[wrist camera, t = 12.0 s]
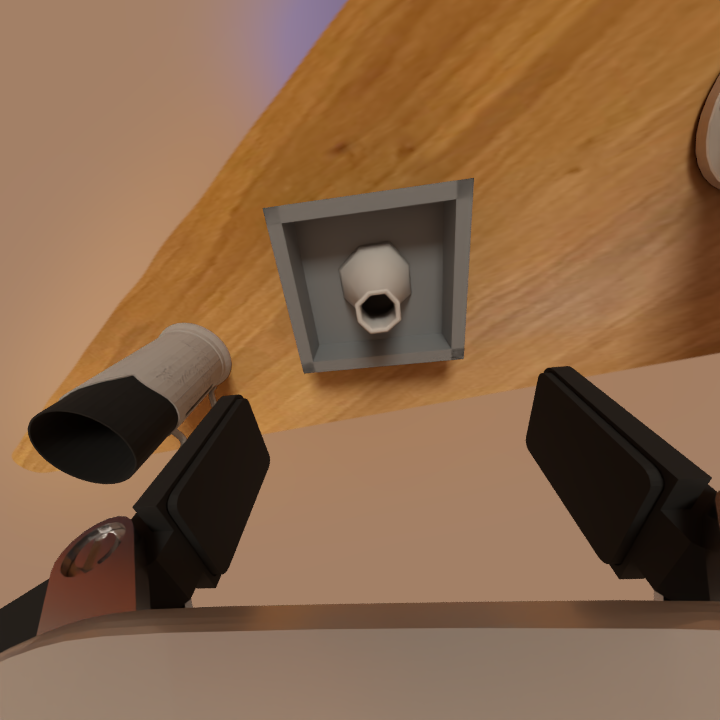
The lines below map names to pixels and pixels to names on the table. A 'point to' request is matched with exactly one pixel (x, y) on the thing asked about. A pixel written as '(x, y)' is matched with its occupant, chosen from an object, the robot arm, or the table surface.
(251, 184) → the table surface
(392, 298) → the flask
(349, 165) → the table surface
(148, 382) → the grey mug
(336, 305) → the charcoal box
